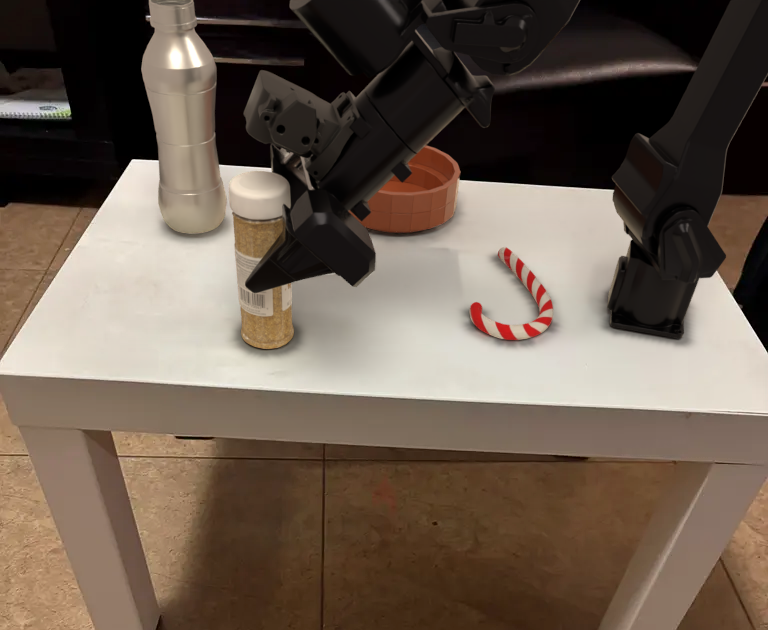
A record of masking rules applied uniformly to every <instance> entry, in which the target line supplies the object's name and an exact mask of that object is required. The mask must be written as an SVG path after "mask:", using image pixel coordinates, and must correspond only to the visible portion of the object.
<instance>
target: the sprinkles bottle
mask: <svg viewBox="0 0 768 630" xmlns="http://www.w3.org/2000/svg"><path fill="white" fill-rule="evenodd" d="M228 201H229V208H230V210H231V211H232V213H231V215H232V217H233V218H232V220H233V221H232V222H233V234H234V257H235V258H234V259H235V270H236V283H237V284H236V285H237V293H238V294H237V295H238V303H239V306H240V316H241V317H240V319H241V330H240V335H241V338H242V339H243V341H244V342H245V343H246V344H248V345H250V346H252V347H255V348H259V349H264V350H265V349H266V350H271V349H272V350H273V349H277V348H281V347H282V346H286V345H287V344H288V343H289V342H290V341H291V340H292V338H294V334H295V333H294V332H295V328H294V325H293V311H292V305H293V304H292V302H293V291H292V290H293V288H292V287H293V286H292V283H290V284H286V285H283V286H279V287H276V288H272V289H269V290H265V291H262V292H259V293H253V292H251V291H250V290H249V289H247V288H246V287H245V281H246V280H247V278H248V277H249V275H250V274H251V272H252V271H253V270H254V268H255V267H256V265H257V264H258V263H259V262H260V260H261V259H262V258H263V256H264V255H265V254H266V252H267V251H268V250H269V249H270V247H271V246H272V245H273V243H274V242H275V241H276V239H277V238H278V237H279V235H280V234H281V233H282V230H283V218H282V206H283V204H285V205H286V206H287V207H288V208H290V207H291V197H290V185H289V182H288V181H287V180H286V179H285V178H284V177H282V176H281V175H279V174H276V173H272V171H267V170H252V171H245V172H241V173H239V174H236V175H235V176H233V177H232V178H231V179H230V181H229V183H228Z"/></svg>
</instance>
